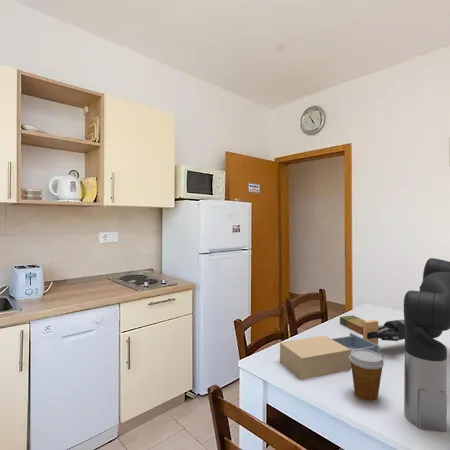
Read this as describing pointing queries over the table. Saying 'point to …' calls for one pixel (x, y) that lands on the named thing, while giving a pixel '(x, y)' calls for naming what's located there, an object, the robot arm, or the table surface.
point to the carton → (352, 323)
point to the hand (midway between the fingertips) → (365, 335)
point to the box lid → (314, 356)
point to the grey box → (361, 343)
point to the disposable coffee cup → (366, 373)
